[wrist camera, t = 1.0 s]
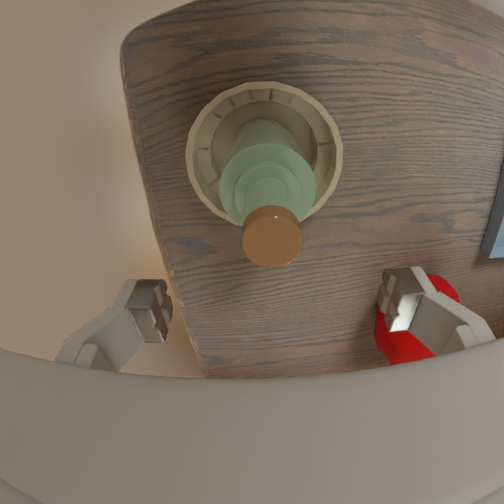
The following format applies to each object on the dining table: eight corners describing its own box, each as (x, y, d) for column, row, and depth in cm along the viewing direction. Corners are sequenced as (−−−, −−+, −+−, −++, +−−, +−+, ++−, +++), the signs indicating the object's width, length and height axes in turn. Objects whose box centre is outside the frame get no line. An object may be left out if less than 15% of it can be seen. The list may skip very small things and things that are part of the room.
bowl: (189, 87, 24) (176, 90, 20) (329, 81, 24) (344, 82, 20) (205, 209, 32) (197, 233, 27) (327, 204, 31) (338, 226, 27)
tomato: (400, 248, 38) (376, 314, 45) (380, 303, 29) (349, 370, 37) (476, 279, 32) (440, 340, 40) (477, 343, 23) (426, 402, 31)
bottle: (229, 120, 25) (193, 183, 11) (294, 116, 25) (345, 177, 11) (234, 178, 29) (213, 297, 15) (295, 175, 28) (333, 292, 14)
